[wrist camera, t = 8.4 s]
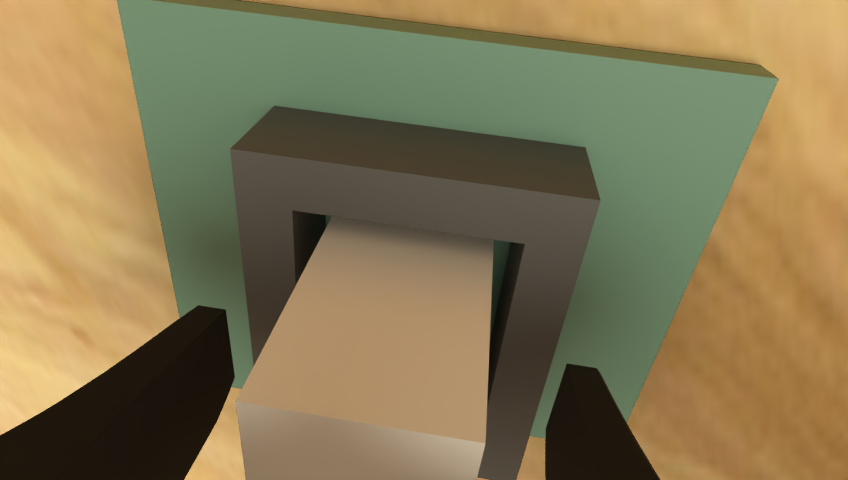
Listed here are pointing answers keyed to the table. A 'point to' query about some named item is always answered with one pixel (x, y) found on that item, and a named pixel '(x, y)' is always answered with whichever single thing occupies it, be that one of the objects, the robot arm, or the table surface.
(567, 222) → the header board
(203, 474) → the table surface
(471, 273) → the keyed plug
